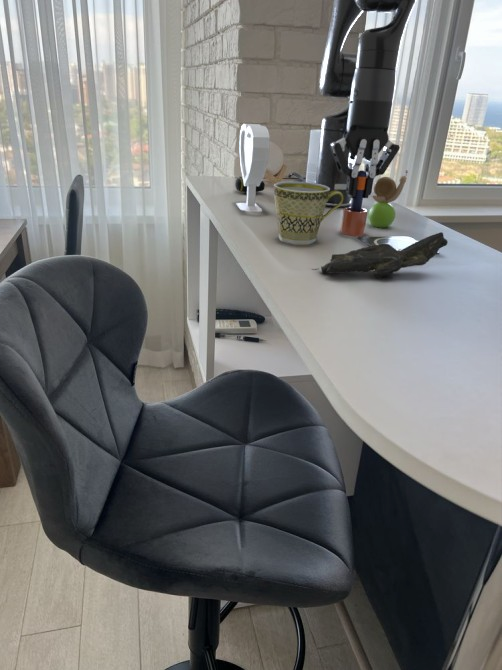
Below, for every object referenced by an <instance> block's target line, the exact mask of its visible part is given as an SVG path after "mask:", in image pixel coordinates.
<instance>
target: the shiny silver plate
mask: <svg viewBox="0 0 502 670" xmlns="http://www.w3.org/2000/svg"><path fill="white" fill-rule="evenodd" d="M356 237H357V239H358V240H359V241H361V242H362V243H364V244H365V245H366V246H367V247H369V246H374V245H380V244H389V245H391V246H392V247H393V248H394V249H395V250H397V251H401V250H403V249H404V248H406V247H408V246H410V245H412V244H414V243H416V242H418V241H419V240H417V239H415V238H413V237H411V236H408V235H406V236H405V235H403V236H401V235H400V236H397V235H395V236H391V235H390V236H356ZM435 255H440V252H439V251H438V252H437V253H436V254H435Z"/></svg>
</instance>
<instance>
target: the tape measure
mask: <svg viewBox="0 0 502 670" xmlns="http://www.w3.org/2000/svg"><path fill="white" fill-rule="evenodd" d="M234 186H235V189H236V190H237V191H239V192H241V193H243V194H246V195H247V186H244V183H243V177H242V176H238V177H237V178H236V179H235V184H234ZM265 186H266V184H265V182H264V181H263V180H262V182H261V183H260V185H259V186H256V193H259V192H263V191H264V190H265Z"/></svg>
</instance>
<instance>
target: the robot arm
mask: <svg viewBox="0 0 502 670" xmlns="http://www.w3.org/2000/svg"><path fill="white" fill-rule="evenodd" d="M416 3H417V0H333V5H332V12H331V16H330V23H329V28H328V32H327V37H326V42H325V47H324V50H323V56H322V61H321V67H320V72H319V79H318V80H319V81H318V88H319V93H320V95H321V96H323V97H325V98H332V99H334V98H335V99H348V102H347V104H346V105H345V106H344V107H343V108H341V109H338V110H337V111H334V112H332V113H331V112H330V113H328V114H325V115H324V116H323V117H322V119H321V124H320V130H321V134H320V144H319V154H318V163H317V173H316V181H315V183H316V184H321V185H325V186H327V187H329V188H330V192H331V191H340V192H341V193H342V194H343V198H344V199H343V202H342V204H341V205H340V206H339V207H338V208H346V207H350V206H351V204H352V198H355V197H356V190H357V183H358V178H356V177H357V175H358V171H360V167H361V165H362V163H363V165H364V167H363V169H364V170H363V171H365V173H366V177H367V178H366V184H365V189H364V195H363V199H368V198H369V197H370V196H371V194H372V192H373V187H374V179H375V178H376V177H377V176H380V175H381V176H383V175H384V174H385V173H386V171H387V169H388V168H389V166H390V165H391V164H392V162H393V160H394V159H395V157H396V155H398V154H397V153H399V151H400V149H401V148H400V147H401V146H400V145H399V144H397V143H393V142H392V141H390V136H389V131H388V130H389V127H390V122H391V116H392V110H393V103H394V98H395V93H396V92H395V91H396V82H397V70H398V69H397V68H398V63H399V56H400V50H401V45H402V41H403V36H404V33H405V31H406V28H407V24H408V22H409V19H410V16H411V14H412V12H413V9H414V7H415V5H416ZM364 12H368V13H389V14H390V13H391V14H393V15H392V18H391V20H390V21H389V23H388V24H386V25H382V26H380V27H379V26H378V27H373V28H368V29H366V30H364V31H362V32H361V34H360V35H359V38H358V42H357V43H358V44H357V52H343V51H342V49H343V46H344V43H345V41H346V39H347V36H348V34H349V32H350V30H351V29H352V27H353V26H354V24H355V23H356V21H357V20H358V18H359V17H360V16H361V15H362V14H363V13H364ZM382 150H383V152H382V154H381V156H380V157H379V154H380V152H381V151H382ZM291 173H292V172H291ZM293 176H294V177H296V178H298V179H295V180H293V181H294V182H304V178H303V177H302V176H301V174H299V173H297V172H294V171H293V173H292V175H290V173H288V174H287V178H292V177H293ZM340 201H341V196H340V195H339V194H335V195H333V196H331V197H330V198H329V200H328V201H327V203H326V206H325V207H332V208H333V207H335V206H336V205H338V204H339V203H340Z"/></svg>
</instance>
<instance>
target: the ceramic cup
mask: <svg viewBox="0 0 502 670" xmlns="http://www.w3.org/2000/svg"><path fill="white" fill-rule="evenodd" d="M335 194H339V195H340V196H341V201H340V203H339V204H338V205H336V206H335V207H332V208H330V209H329V210H328V211H327V212H326V213H325V209H326V207H327V206H326V203H327V201H328V200H329V198H330V197H331V196H333V195H335ZM273 195H274V204H275V210H276V222H277V233H278V239H279V240H280V241H281V242H283V243H287V244H291V245H310V244H313V243H315V242H316V241H317V238H318V233H319V230H320V226H321V224H322V222H323V220H324V219H326V218H327V217H329V215H330V214H331V213H333V211H335V210H336V209H338V208H340V207H339V206H340V205H341V204H342V202H343V199H344V198H343V194H342V193H341V192H340V191H331V192H330V188H329V187H327V186H325V185H321V184H316V183H309V182H306V181H302V182H294V180H292V181H279V182H276V183H274V184H273ZM324 213H325V214H324Z"/></svg>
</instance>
